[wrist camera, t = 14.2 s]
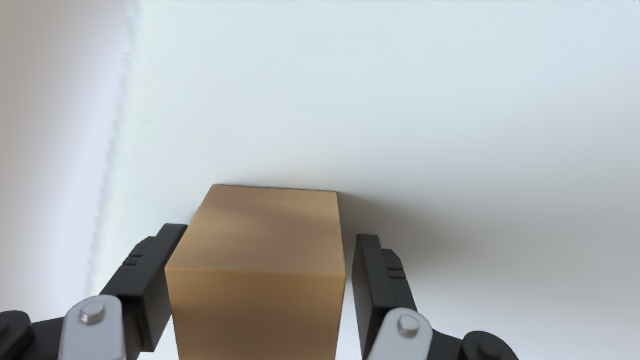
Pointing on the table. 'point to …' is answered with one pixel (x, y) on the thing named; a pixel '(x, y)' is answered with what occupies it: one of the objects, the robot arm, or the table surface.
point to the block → (259, 276)
